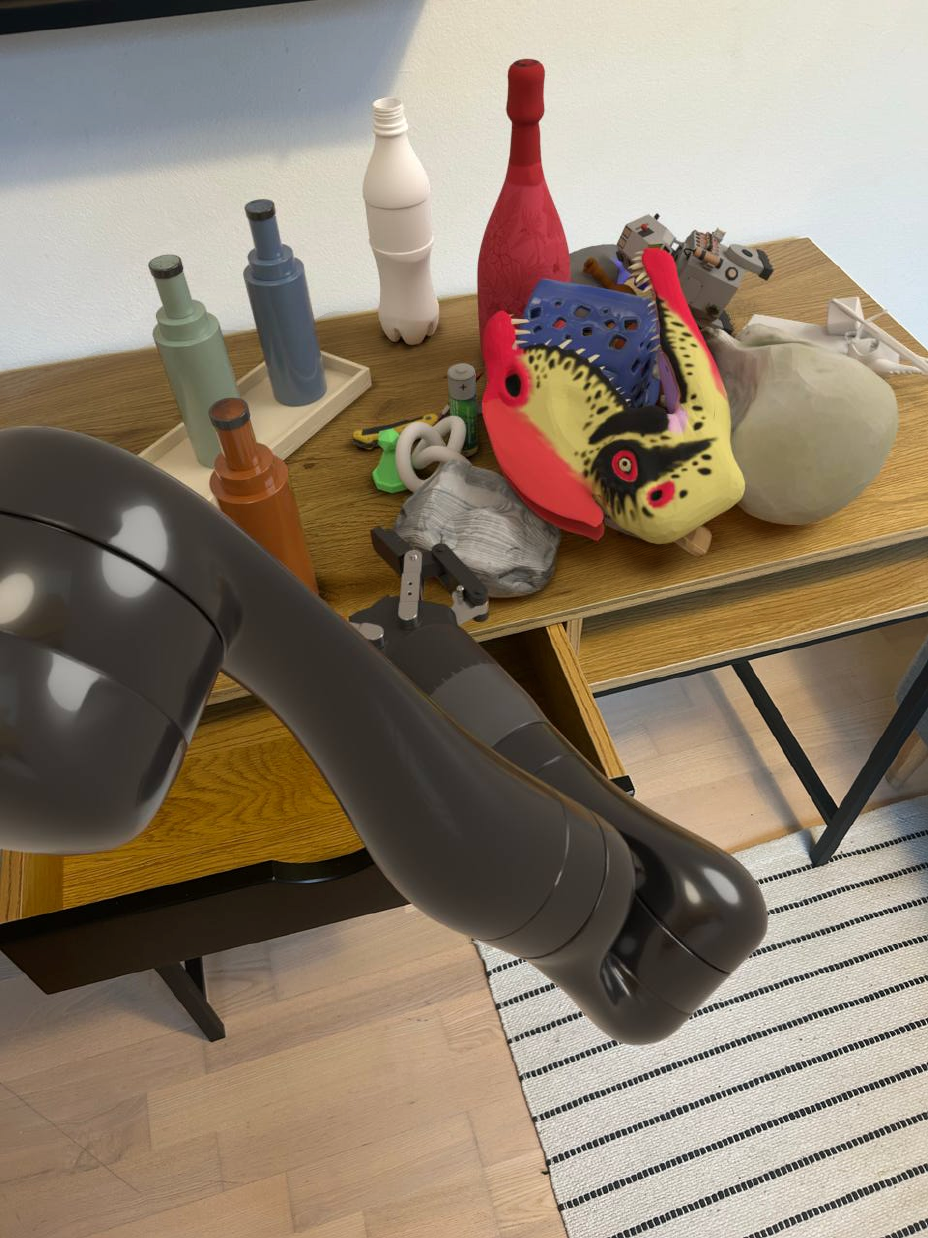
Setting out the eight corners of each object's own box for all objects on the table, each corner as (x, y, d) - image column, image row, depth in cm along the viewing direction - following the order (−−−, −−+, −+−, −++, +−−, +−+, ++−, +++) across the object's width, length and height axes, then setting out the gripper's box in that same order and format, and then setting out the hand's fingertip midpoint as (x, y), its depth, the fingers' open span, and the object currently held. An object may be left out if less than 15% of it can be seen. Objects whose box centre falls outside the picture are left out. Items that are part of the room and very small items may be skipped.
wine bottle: (532, 327, 102) (538, 34, 80) (583, 365, 97) (606, 62, 74) (463, 355, 99) (449, 58, 76) (512, 396, 94) (512, 89, 71)
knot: (490, 476, 86) (501, 431, 82) (447, 520, 81) (456, 475, 77) (428, 442, 88) (436, 396, 83) (383, 483, 83) (388, 437, 79)
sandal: (574, 431, 78) (542, 477, 79) (700, 525, 70) (661, 574, 71) (607, 453, 83) (576, 495, 85) (728, 542, 75) (692, 588, 76)
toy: (669, 215, 73) (445, 291, 75) (783, 488, 64) (526, 566, 66) (666, 272, 80) (461, 341, 82) (769, 526, 71) (536, 596, 73)
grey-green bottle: (188, 469, 87) (119, 280, 71) (203, 432, 91) (140, 245, 75) (247, 469, 86) (189, 279, 71) (259, 432, 90) (207, 244, 75)
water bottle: (370, 344, 102) (338, 112, 82) (396, 313, 106) (370, 86, 87) (426, 354, 100) (405, 120, 80) (450, 322, 104) (435, 93, 85)
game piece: (424, 478, 85) (420, 429, 81) (391, 499, 83) (384, 450, 79) (397, 459, 87) (391, 410, 83) (364, 478, 86) (355, 429, 81)
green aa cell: (433, 428, 87) (461, 393, 84) (430, 425, 87) (458, 390, 84) (459, 404, 93) (486, 370, 90) (457, 401, 93) (483, 368, 90)
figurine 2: (719, 385, 95) (966, 438, 84) (727, 318, 89) (994, 366, 79) (757, 331, 102) (990, 374, 91) (767, 266, 96) (1017, 304, 85)
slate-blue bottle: (268, 406, 93) (219, 220, 78) (279, 374, 97) (235, 191, 81) (322, 406, 93) (285, 219, 77) (331, 374, 96) (297, 190, 81)
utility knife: (492, 388, 92) (504, 403, 91) (492, 398, 93) (504, 413, 92) (350, 431, 89) (360, 447, 87) (352, 441, 90) (362, 457, 88)
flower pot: (620, 485, 85) (662, 401, 90) (620, 385, 74) (668, 296, 79) (500, 452, 90) (546, 375, 95) (483, 354, 79) (536, 272, 84)
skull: (617, 413, 85) (781, 488, 90) (655, 489, 70) (850, 574, 75) (700, 267, 77) (874, 358, 82) (763, 317, 63) (971, 424, 68)
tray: (137, 584, 78) (128, 566, 76) (56, 539, 82) (46, 521, 80) (372, 385, 96) (369, 367, 94) (296, 357, 100) (292, 339, 99)
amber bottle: (244, 623, 74) (175, 435, 59) (259, 573, 78) (197, 383, 63) (313, 625, 74) (260, 435, 58) (324, 574, 78) (278, 383, 62)
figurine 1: (757, 227, 99) (642, 180, 95) (780, 279, 92) (657, 231, 87) (712, 296, 105) (604, 255, 101) (731, 349, 98) (614, 307, 94)
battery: (465, 460, 87) (461, 380, 80) (446, 449, 88) (441, 369, 81) (483, 448, 88) (481, 367, 81) (465, 437, 89) (461, 357, 82)
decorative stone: (588, 582, 73) (527, 626, 81) (551, 444, 77) (497, 498, 85) (437, 581, 66) (387, 628, 74) (406, 428, 70) (361, 489, 78)
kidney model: (538, 298, 95) (562, 198, 104) (526, 348, 101) (549, 249, 110) (673, 331, 95) (686, 228, 104) (653, 378, 101) (666, 277, 110)
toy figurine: (627, 373, 99) (655, 335, 101) (645, 360, 96) (674, 321, 98) (552, 299, 97) (583, 262, 99) (569, 282, 93) (600, 245, 96)
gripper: (554, 617, 51) (402, 479, 60) (350, 745, 46) (216, 573, 54) (550, 691, 57) (412, 554, 65) (369, 812, 51) (245, 646, 60)
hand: (323, 563), depth 60 cm, fingers open, 8 cm apart
